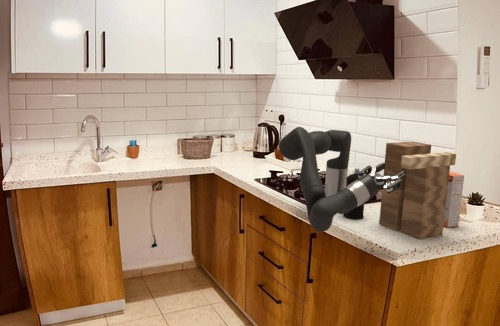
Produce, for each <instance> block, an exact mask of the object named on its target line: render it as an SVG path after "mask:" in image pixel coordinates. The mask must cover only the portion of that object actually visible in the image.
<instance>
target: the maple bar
mask: <svg viewBox="0 0 500 326" xmlns="http://www.w3.org/2000/svg"><path fill="white" fill-rule="evenodd" d="M456 160H457V154H456V153H453V152H447V151H445V152H437V153H436V152H435V153H430V154H419V155H406V156H402V160H401V167H402V168H406V169H419V168H429V167H440V166H450V167H451V166H455V165H456Z"/></svg>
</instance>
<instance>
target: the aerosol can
mask: <svg viewBox="0 0 500 326" xmlns="http://www.w3.org/2000/svg"><path fill="white" fill-rule="evenodd" d="M360 171H361V170H360V168H358V167H356V168H354V171H353V173H351V174H349V175H347V178H346V186H348V185H349V184H351V183H352V182H354V181H355V180H357V179H358V172H360ZM364 208H365V203H363V204H361V205H359V206H357V207H355V208H354V209H352V210H351V211H349V212H348V213H346V214H342V215H343V217H344V218H346V219H348V220H362V219H364V217H365V216H364V210H365V209H364Z"/></svg>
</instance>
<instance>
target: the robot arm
mask: <svg viewBox="0 0 500 326" xmlns="http://www.w3.org/2000/svg"><path fill="white" fill-rule="evenodd" d="M351 147H352V134H351V132H350V131H348V130H341V129H340V130H338V129H329V130H325V131H323V130H313V131H310V132H309V131H308V130H306V129H305V128H304V127H302V126H297V127H295V128H293V129H292V130H290V132H289V133H287V134H286V135H284V136H283V137H282V138H281V140H280V141H279V143H278V149H279V152H280V154H281V155H282V156H283V157H284V158H286V159H287V160H289V161H297V160H299V159H301V158H302V163H301V168H300V173H299V174H300V175H299V187H300V189H301V192H302V195H303V198H304V201H305V207H306V212H307V217H308V222H309V224H310V226H311V227H312V229H314V230H315V231H317V232H321V233H323V232H326V231H328V230H329V229H330V228H331V226H332V224H333V220H334V217H335V216H336V215H337V214H339V215H343V214H346V213H348V212H349V211H351V210H352V209H354V208H355V207H357V206H359V205H361V204H363V203H364V204H365V203H366V202H368V201H369V200H371V199H372V198H374V197H375V196H376V195H378V193H379V192H380V191H382V190H383V189H384V190H386V191H387V193H388V194H390V193H391V192H393V191H395V190H397V189H398V188H400V187H401V186H402V185H401V180H403V179H404V178H405V172H404V171H402V172H400V173H399V174H397V175H396V176H393V177H390V176H384V175H383V174H382V175H381V174H380V172H381V171H384V169H385V162H382V163H381V162H380V163H379V164H377V165H376V166H371V165H370V164H369V165H367V166H366V167H364V168H362V169H361V170H360V171H359V172H358V179H357V180H355V181H354V182H352V183H351V184H349V185H348V186H346V178H347V177H348V171H349V170H348V169H349V162H350V154H351ZM329 151H330V152H336V153H339V155H338V156H337V157H334V158H330V159H327V160H326V167H325V168H326V169H325V170H326V171H325V183H324V184H323V182H322V178H321V176H320V172H319V168H318V159H317V156H318V155H323V154H326V153H327V152H329ZM386 180H388V183H387V184H386ZM391 180H395V181H393V182H391Z"/></svg>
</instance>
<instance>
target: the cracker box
mask: <svg viewBox="0 0 500 326" xmlns="http://www.w3.org/2000/svg"><path fill="white" fill-rule="evenodd" d="M464 182H465V175H464V174H461V173H457V172H454V171H451V170H450V172H449V180H448V189H447V197H446V206H445V214H444V223H443V228H454V227H459V223H460V214H461V205H462V198H463V189H464Z"/></svg>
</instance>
